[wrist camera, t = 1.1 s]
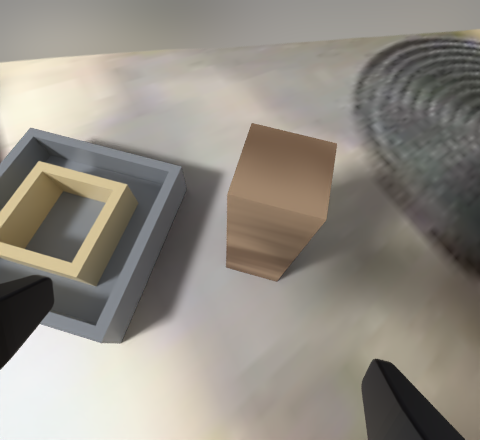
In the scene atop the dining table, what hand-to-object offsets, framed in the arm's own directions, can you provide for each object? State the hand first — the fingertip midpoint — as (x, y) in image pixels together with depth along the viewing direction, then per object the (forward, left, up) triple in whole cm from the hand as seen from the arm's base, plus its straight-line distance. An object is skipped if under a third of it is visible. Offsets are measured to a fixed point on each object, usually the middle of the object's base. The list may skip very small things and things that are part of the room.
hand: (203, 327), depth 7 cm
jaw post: (+7, -4, -14) cm, 16 cm away
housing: (+10, +11, -14) cm, 20 cm away
